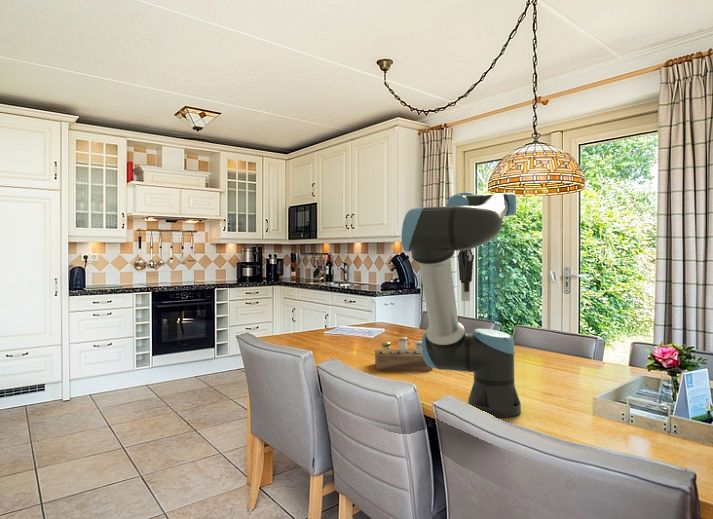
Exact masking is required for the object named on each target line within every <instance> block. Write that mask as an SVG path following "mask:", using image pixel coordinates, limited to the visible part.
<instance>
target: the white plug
mask: <svg viewBox="0 0 713 519" xmlns="http://www.w3.org/2000/svg"><path fill="white" fill-rule="evenodd" d="M397 341H398V349H399V354H407V349H408V341H409V337H407V336H398V337H397Z"/></svg>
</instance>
